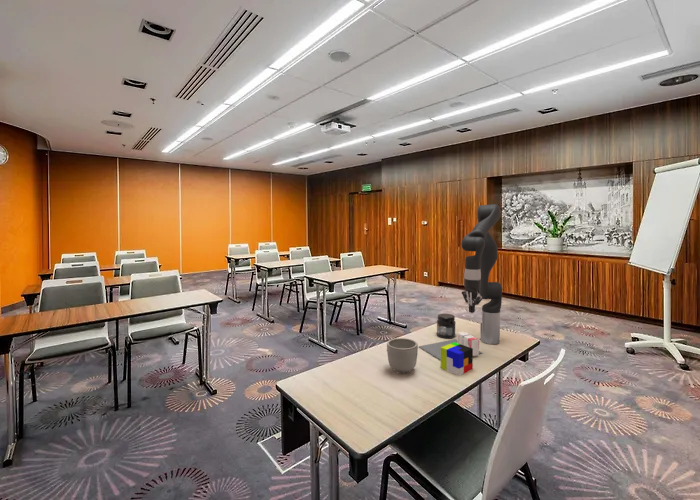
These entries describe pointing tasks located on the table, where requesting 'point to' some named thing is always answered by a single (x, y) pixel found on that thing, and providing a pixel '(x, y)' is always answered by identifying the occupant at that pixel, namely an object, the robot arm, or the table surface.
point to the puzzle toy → (456, 358)
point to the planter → (402, 354)
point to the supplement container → (446, 326)
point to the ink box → (468, 342)
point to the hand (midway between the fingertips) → (471, 312)
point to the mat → (437, 348)
